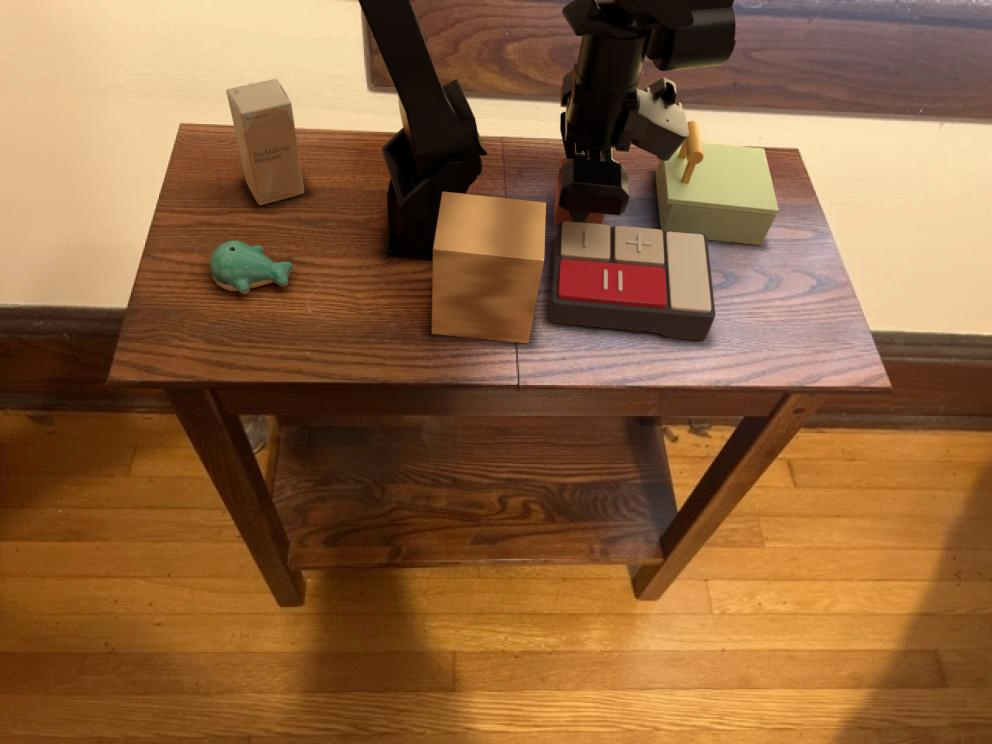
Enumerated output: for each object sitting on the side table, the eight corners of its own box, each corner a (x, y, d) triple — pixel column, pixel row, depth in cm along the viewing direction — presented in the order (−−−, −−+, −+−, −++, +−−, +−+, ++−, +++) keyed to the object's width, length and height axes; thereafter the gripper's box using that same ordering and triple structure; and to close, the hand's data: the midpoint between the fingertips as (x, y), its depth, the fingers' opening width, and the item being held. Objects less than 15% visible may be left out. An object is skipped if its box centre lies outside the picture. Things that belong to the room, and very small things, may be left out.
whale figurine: (226, 251, 72) (217, 222, 68) (300, 262, 72) (295, 233, 68) (205, 295, 68) (195, 267, 65) (283, 307, 68) (276, 279, 65)
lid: (666, 203, 75) (679, 165, 71) (659, 142, 80) (671, 104, 76) (776, 215, 75) (795, 178, 71) (762, 153, 81) (779, 116, 77)
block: (553, 222, 77) (560, 189, 73) (554, 191, 80) (561, 157, 76) (601, 227, 77) (609, 194, 73) (600, 196, 80) (608, 162, 76)
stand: (431, 334, 68) (432, 249, 59) (439, 278, 72) (442, 191, 63) (528, 343, 68) (544, 260, 59) (531, 288, 72) (546, 202, 63)
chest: (661, 235, 78) (671, 204, 75) (655, 173, 84) (665, 143, 80) (760, 245, 78) (776, 216, 75) (748, 184, 84) (761, 154, 81)
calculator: (558, 215, 73) (709, 228, 73) (554, 246, 76) (698, 259, 76) (553, 297, 67) (718, 312, 66) (548, 327, 70) (706, 341, 70)
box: (259, 207, 76) (236, 114, 67) (245, 181, 78) (222, 88, 69) (307, 193, 77) (292, 100, 68) (293, 168, 79) (276, 76, 70)
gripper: (708, 147, 60) (658, 277, 73) (687, 26, 71) (647, 157, 84) (573, 132, 60) (546, 265, 72) (573, 12, 71) (550, 146, 83)
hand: (577, 205), depth 78 cm, fingers closed on block, 5 cm apart
